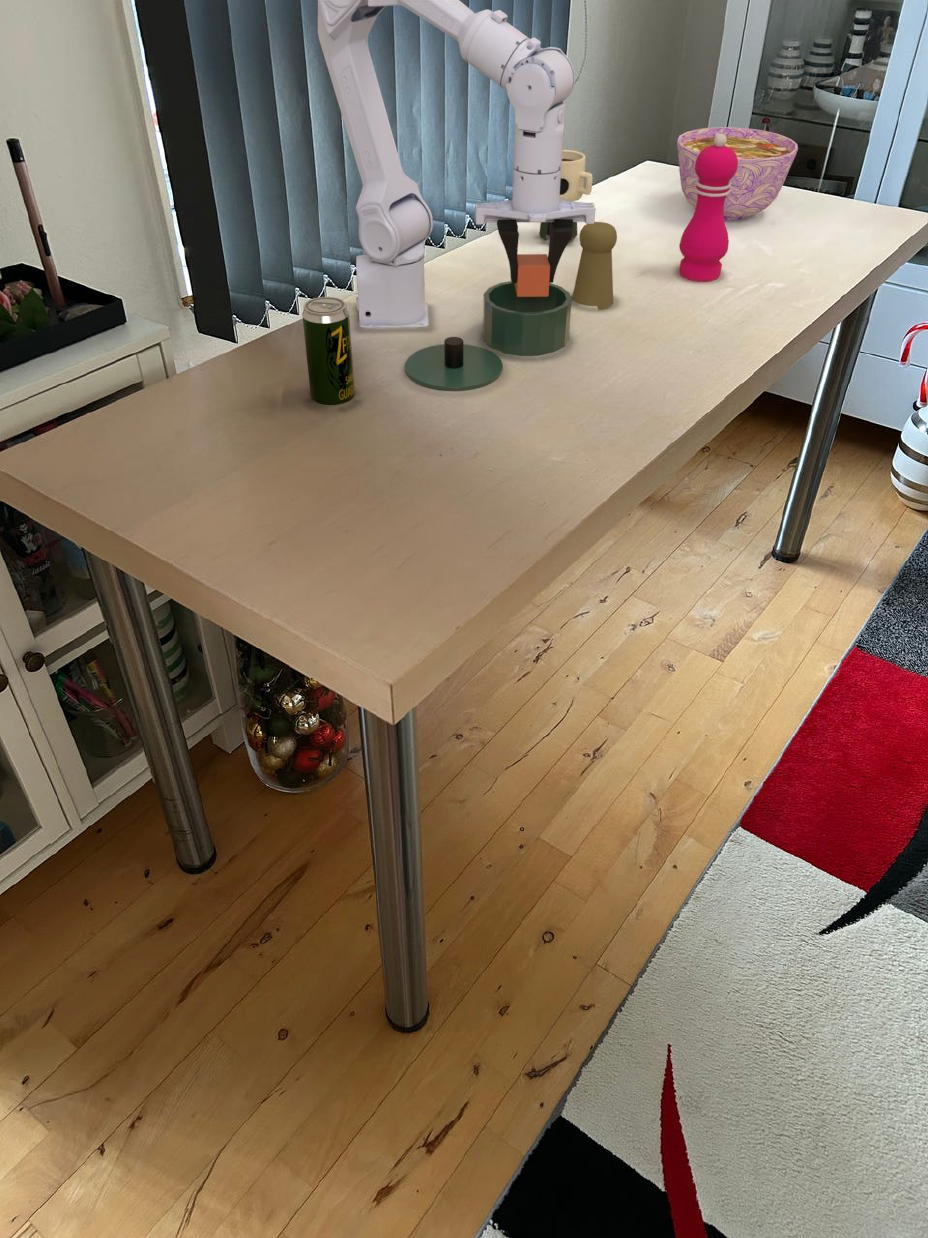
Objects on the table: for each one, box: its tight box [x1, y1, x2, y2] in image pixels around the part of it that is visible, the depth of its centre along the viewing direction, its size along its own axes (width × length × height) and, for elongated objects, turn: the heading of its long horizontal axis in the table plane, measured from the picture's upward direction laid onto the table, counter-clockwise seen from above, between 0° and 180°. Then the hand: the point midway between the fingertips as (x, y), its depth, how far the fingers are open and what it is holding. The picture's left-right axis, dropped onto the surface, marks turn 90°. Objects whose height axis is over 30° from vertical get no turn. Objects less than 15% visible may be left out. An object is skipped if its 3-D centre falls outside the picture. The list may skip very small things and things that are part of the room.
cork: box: [571, 221, 618, 311], centre depth 143 cm, size 6×6×11 cm
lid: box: [404, 336, 504, 392], centre depth 127 cm, size 12×12×4 cm
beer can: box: [301, 296, 356, 408], centre depth 119 cm, size 5×5×12 cm
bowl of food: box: [676, 126, 799, 222], centre depth 173 cm, size 20×20×12 cm
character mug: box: [538, 149, 593, 241], centre depth 162 cm, size 11×7×13 cm, turn 55°
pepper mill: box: [678, 134, 738, 282], centre depth 148 cm, size 7×7×20 cm
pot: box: [482, 280, 572, 357], centre depth 134 cm, size 11×11×6 cm
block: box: [515, 253, 550, 297], centre depth 127 cm, size 4×4×4 cm
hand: (531, 279), depth 128 cm, fingers closed on block, 4 cm apart
